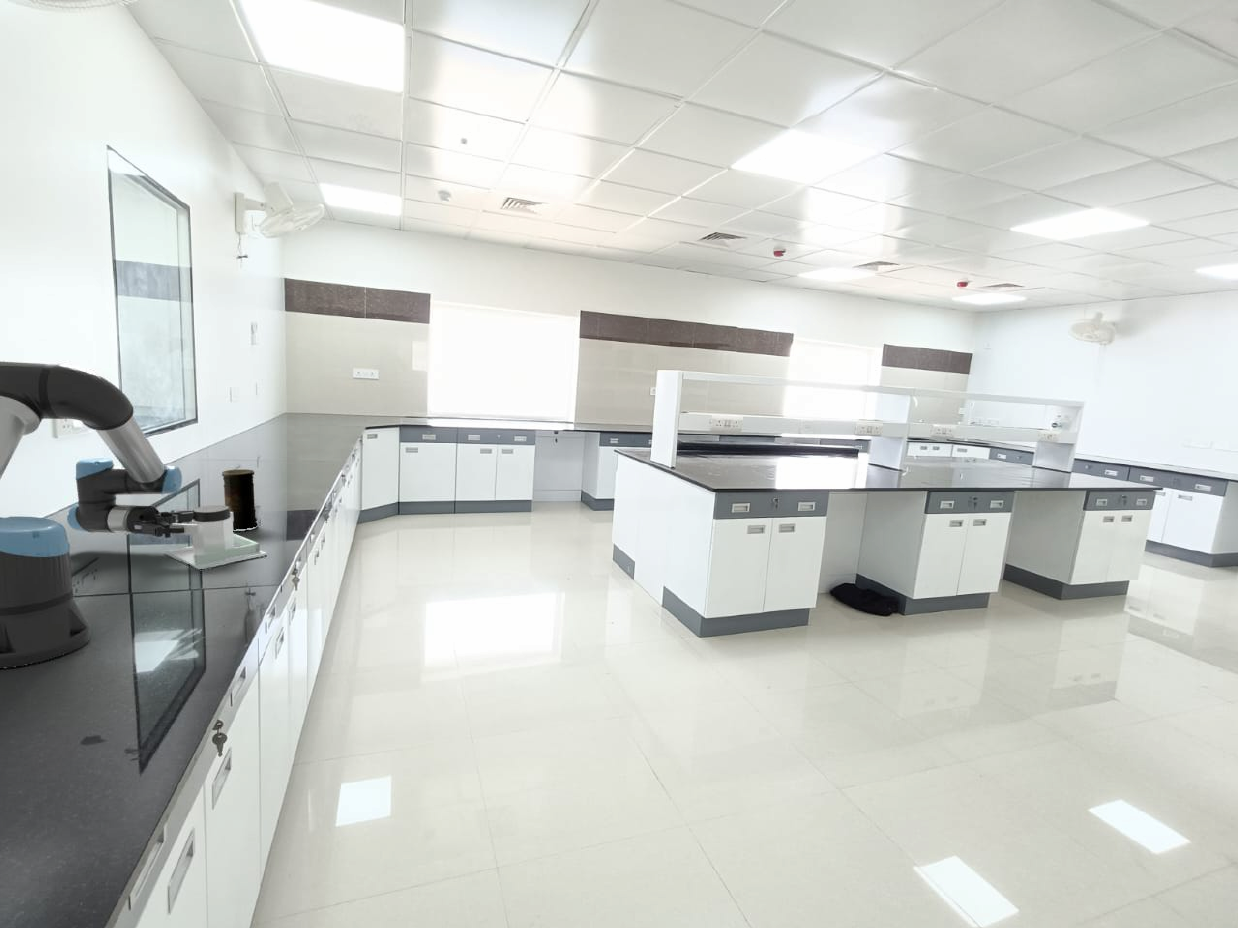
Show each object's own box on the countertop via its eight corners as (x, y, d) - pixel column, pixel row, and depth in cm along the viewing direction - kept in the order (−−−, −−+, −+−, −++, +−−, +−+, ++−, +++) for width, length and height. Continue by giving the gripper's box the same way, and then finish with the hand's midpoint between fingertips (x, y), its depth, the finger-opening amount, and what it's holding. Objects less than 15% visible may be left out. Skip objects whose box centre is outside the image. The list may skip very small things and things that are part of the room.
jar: (207, 547, 162) (205, 504, 160) (239, 547, 163) (237, 505, 161) (187, 557, 153) (184, 512, 151) (221, 557, 154) (218, 513, 152)
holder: (266, 555, 160) (266, 544, 160) (199, 570, 147) (198, 558, 146) (231, 541, 171) (230, 531, 170) (165, 554, 158) (164, 543, 157)
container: (226, 525, 186) (223, 469, 183) (259, 523, 190) (256, 468, 187) (221, 533, 178) (217, 474, 175) (256, 531, 182) (253, 473, 179)
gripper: (171, 521, 170) (245, 524, 171) (96, 547, 146) (183, 550, 146) (169, 496, 169) (244, 499, 169) (93, 517, 144) (181, 521, 145)
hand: (216, 523), depth 158 cm, fingers open, 13 cm apart
